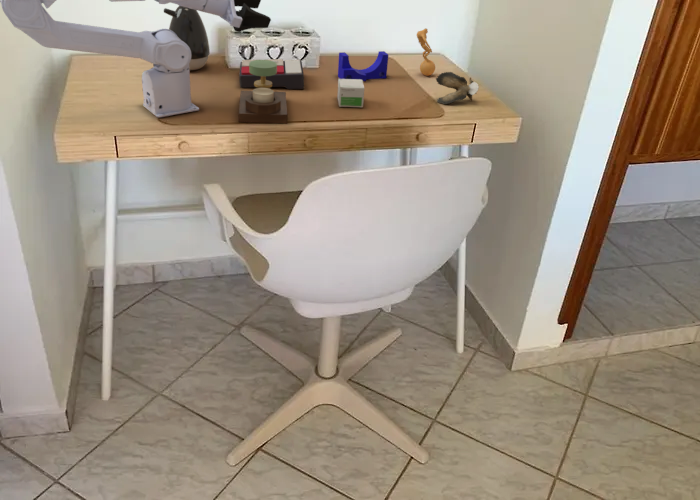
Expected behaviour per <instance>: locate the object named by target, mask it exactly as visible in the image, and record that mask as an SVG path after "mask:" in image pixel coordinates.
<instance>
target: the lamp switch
mask: <svg viewBox="0 0 700 500" xmlns="http://www.w3.org/2000/svg"><path fill="white" fill-rule="evenodd" d="M251 91H252V92H253V101H254V102H258V103H270V102H273V101H274V92H275V91H274V90H273V89H272V88H257V87H255V88H253V90H251Z"/></svg>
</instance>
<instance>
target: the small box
mask: <svg viewBox="0 0 700 500" xmlns="http://www.w3.org/2000/svg"><path fill="white" fill-rule="evenodd" d="M336 95H337V96H336V97H337V98H336V99H337V104H338V108H343V107H344V108H360V109H361V108H364V101H365V100H364V98H365V85H364V81H363V80H360V79H340V78H338V79H337V94H336Z"/></svg>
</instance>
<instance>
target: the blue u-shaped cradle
mask: <svg viewBox="0 0 700 500" xmlns="http://www.w3.org/2000/svg"><path fill="white" fill-rule="evenodd" d="M349 57H350V56H349V55H348V54H347V53H346V52H345V51H344V52H338V65H337V66H338V67H337V77H338V79H360V80H363V82H366V81H367V80H379V79H382V80H383V79H387V75H388V64H389V54H388V53H387V52H386V51H384V50H383V51H381V50H380V51H378V53H377V57H376V58H375V60H374V62H373V63H372V64H371V65H370V66H369V67H366V68H364V69H358V68H354V67H353V66H352V65H351V63H350V58H349Z"/></svg>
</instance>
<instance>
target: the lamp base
mask: <svg viewBox="0 0 700 500" xmlns="http://www.w3.org/2000/svg"><path fill="white" fill-rule="evenodd" d="M252 91H253V90H240V94H239V105H238V106H239V107H238V123H247V124H248V123H250V124H251V123H255V124H288V106H287V105H288V104H287V93H286V91H274V101H273V102H270V103H258V102H254V101H253V92H252Z"/></svg>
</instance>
